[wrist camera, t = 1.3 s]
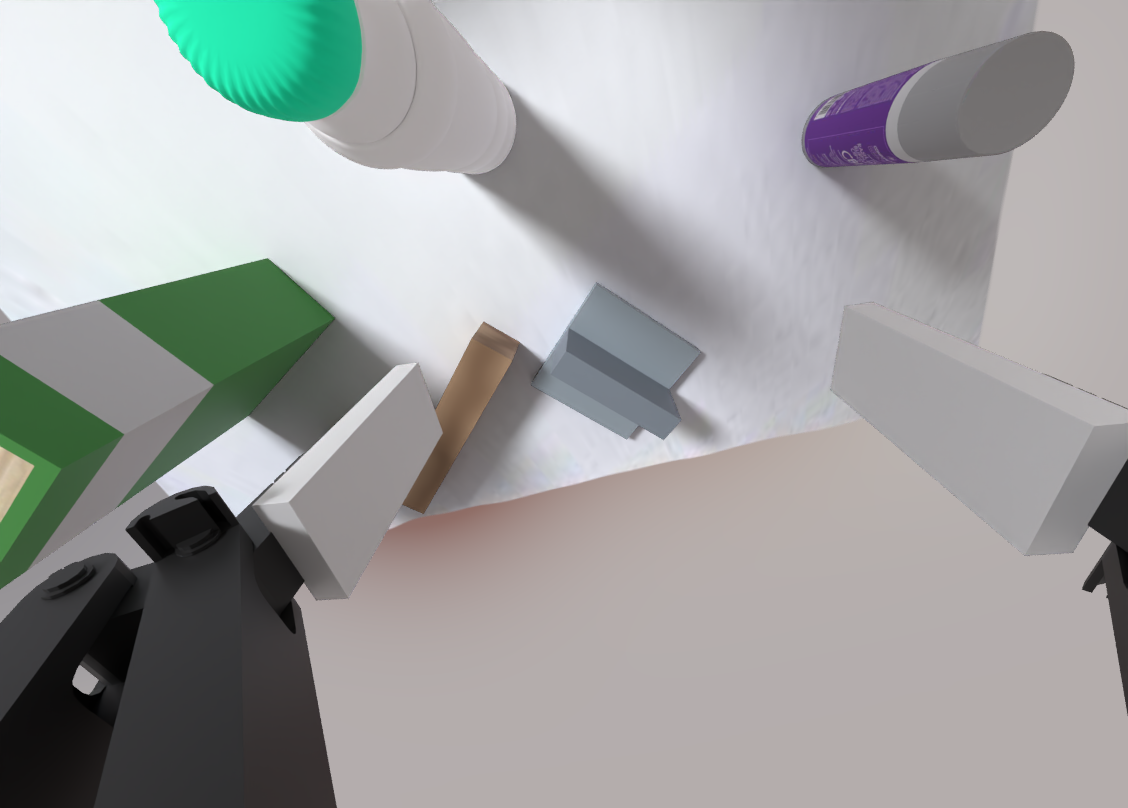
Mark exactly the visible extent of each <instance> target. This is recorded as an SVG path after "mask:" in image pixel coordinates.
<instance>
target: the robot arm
mask: <svg viewBox="0 0 1128 808" xmlns="http://www.w3.org/2000/svg"><path fill="white" fill-rule="evenodd" d="M830 390H831V391H832V392H833V393H835V394H836V395H837V396H838V397H839V398H840V399H842V400H843V401H844V402H845V403H846V404H847V405H849V406H850V407H851V408H852V409H853V410H854V411H856V412H857V413H858V414H859V415H860V416H862V417H863V418H864V419H865V420H866V421H867V422H869V423H870V424H871V425H872V426H873V427H874V428H876V429H877V430H878V431H879V432H880V433H881V434H883V435H884V436H885V437H886V438H887V439H888V440H890V441H891V442H892V443H893V444H895V445H896V446H897V447H898V448H899V449H900V450H901V451H903V452H904V453H905V454H906V455H907V456H908V457H910V458H911V459H912V460H913V461H914V462H916V463H917V464H918V465H919V466H920V467H921V468H922V469H924V470H925V471H926V472H927V473H928V474H929V475H931V476H932V477H933V478H934V479H935V480H937V481H938V482H939V483H940V484H941V485H942V486H943V487H945V488H946V489H947V490H948V491H949V492H951V493H952V494H953V495H954V496H955V497H956V498H958V499H959V500H960V501H961V502H962V503H963V504H965V505H966V506H967V507H968V508H969V509H970V510H972V511H973V512H974V513H975V514H976V515H978V516H979V517H980V518H981V519H982V520H983V521H985V522H986V523H987V524H988V525H989V526H990V527H991V528H993V529H994V530H995V531H996V532H997V533H999V534H1000V535H1001V536H1002V537H1003V538H1004V539H1006V540H1007V541H1008V542H1009V543H1010V544H1011V545H1013V546H1014V547H1015V548H1016V549H1017V550H1018V551H1020V552H1021V553H1022V554H1023V555H1024V556H1030V555H1046V554H1061V553H1073V552H1074V550H1075V549H1076V547H1077V545H1078V543H1079V542H1080V540H1081V539H1082V537H1083V536H1084V534H1085V532H1086V531H1087V529H1088V527H1089V526H1090V527H1092V528H1093V529H1094V530H1096V531H1097V532H1099V533H1100V534H1101V535H1103V536H1104V537H1106V538H1107V539H1109V540H1111V541H1112V542H1111V543H1110V545H1109V546H1108V548H1107V549H1106V551H1105V552H1104V554H1103V555H1102V557H1101V558H1100V560H1099V561H1098V563H1097V564H1096V566H1095V567H1094V569H1093V570H1092V572H1091V573H1090V575H1089V576H1088V578H1087V579H1086V581H1085V582H1084V585H1083V589H1082V590H1085V591H1088V592H1091V593H1092V592H1093V590H1094V589H1095V587H1096V586H1097V585H1099V584H1104V583H1106V588H1107V594H1108V595H1107V597H1106V598H1108V600H1109V605H1110V612H1111V618H1112V624H1113V630H1114V636H1115V641H1116V648H1117V654H1118V660H1119V665H1120V672H1121V678H1122V683H1123V690H1124V696H1125V702H1126V708H1127V713H1128V409H1127V408H1125V407H1123V406H1120V405H1118V404H1115V403H1113V402H1111V401H1108V400H1106V399H1104V398H1099V397H1097V396H1096V395H1094V394H1092V393H1089V392H1087V391H1084V390H1082V389H1080V388H1076V387H1073V386H1072V385H1070V384H1068V383H1065V382H1063V381H1061V380H1058V379H1056V378H1054V377H1051V376H1048V375H1046V374H1043V373H1040V372H1038V371H1035V370H1033V369H1031V368H1028V367H1026V366H1023V365H1021V364H1019V363H1016V362H1014V361H1012V360H1009V359H1007V358H1004V357H1002V356H1000V355H997V354H995V353H993V352H990V351H988V350H985V349H983V348H981V347H978V346H976V345H974V344H971V343H969V342H966V341H964V340H962V339H959V338H957V337H955V336H952V335H950V334H947V333H945V332H943V331H940V330H938V329H936V328H933V327H931V326H928V325H926V324H924V323H921V322H919V321H917V320H914V319H912V318H909V317H907V316H905V315H902V314H900V313H898V312H895V311H893V310H890V309H888V308H886V307H883V306H881V305H879V304H876V303H874V302H870V303H863V304H855V305H848V306H845V307H844V313H843V319H842V325H841V330H840V336H839V342H838V348H837V354H836V360H835V366H834V371H833V377H832V383H831V389H830ZM442 433H443V432H442V429H441V426H440V423H439V420H438V417H437V415H436V412H435V409H434V406H433V403H432V400H431V397H430V395H429V392H428V389H427V386H426V383H425V380H424V378H423V375H422V372H421V369H420V366H419V363H410V364H403V365H396V366H395V367H394V368H393V369H392V370H391V371H390V372H389V373H388V374H387V375H386V376H385V377H384V378H383V379H382V380H381V381H380V382H379V383H378V384H377V385H375V386H374V387H373V388H372V389H371V390H370V391H369V392H368V393H367V394H366V395H365V396H364V397H363V398H362V399H361V400H360V401H359V402H358V403H357V404H356V405H355V406H354V407H353V408H352V409H351V410H350V411H349V412H348V413H347V414H346V415H345V416H344V417H342V418H341V419H340V420H339V421H338V422H337V423H336V424H335V425H334V426H333V427H332V428H331V429H330V430H329V431H328V432H327V433H326V434H325V435H324V436H323V437H322V438H321V439H320V440H319V441H318V442H317V443H316V444H315V445H314V446H313V447H312V448H311V449H309V450H308V451H307V452H306V453H304V454H303V455H301V456H299V457H298V458H297V459H296V460H295V461H294V462H293V463H292V464H291V465H290V466H289V467H288V468H287V469H286V472H283V473H282V474H281V475H280V476H279V477H277V478H276V479H275V480H274V483H272V484H270V485H269V486H268V487H267V488H266V489H265V490H264V491H263V492H262V493H261V494H260V495H259V496H258V497H257V498H256V499H255V500H254V501H252V502H251V503H250V504H249V505H248V506H247V507H246V508H245V509H244V510H243V511H242V512H241V513H240V514H239V515H238V516H237V517H235V516H234V515H233V513H232V512H231V510H230V509H229V508H228V506H227V505H226V503H225V502H224V501H223V499H222V498H221V496H220V495H219V494H218V492H217V491H216V490H215V488H214V487H210V486H201V487H195V488H191V489H188V490H185V491H182V492H179V493H176V494H174V495H172V496H170V497H168V498H166V499H163V500H161V501H159V502H158V503H156V504H154V505H153V506H151V507H149V508H148V509H146V510H145V511H143V512H142V513H141V514H140V515H138V516H137V517H136V518H135V519H134V520H132V521H131V522H130V524H129V525H128V527H127V528H126V531H127V532H128V533H129V535H130V536H131V537H132V538H133V539H134V540H135V541H136V542H137V543H138V545H139V546H140V547H141V548H142V549H143V550H144V551H145V552H146V553H147V555H148V556H149V557H150V558H151V559H152V560H153V561H154V563H151V564H147V565H144V566H141V567H138V568H134V569H131V570H130V569H129V568H128V567H127V565H125V564H124V562H123V561H122V560H121V559H120V558H119V557H118V556H117V555H116V554H113V553H104V554H100V555H97V556H92V557H89V558H87V559H84V560H82V561H80V562H74V563H72V564H70V565H68V566H66V567H64V569H60V570H58V571H57V572H55V573H53V574H52V575H50V576H49V578H48V579H47V580H45V581H44V582H42V583H41V584H40V585H38V586H36V587H35V588H34V589H33V590H32V591H31V592H30V593H29V594H28V595H26V596H25V597H24V598H23V599H22V600H21V601H20V602H19V603H18V604H17V606H16V607H15V608H14V609H13V610H12V611H11V612H10V613H9V614H8V615H7V616H6V618H5V619H4V620H3V621H2V622H1V623H0V808H337V806H336V801H335V795H334V790H333V784H332V779H331V773H330V768H329V762H328V757H327V751H326V746H325V740H324V735H323V729H322V724H321V718H320V713H319V707H318V701H317V696H316V690H315V685H314V680H313V674H312V668H311V663H310V658H309V652H308V646H307V641H306V635H305V629H304V624H303V618H302V613H301V608H300V607H299V605H298V604H297V602H296V601H295V599H294V598H293V597H294V595H295V594H296V592H297V591H298V589H299V588H300V587H301V585H302V584H303V583H305V585H306V586H307V588H308V589H309V590H310V592H311V593H312V595H313V596H314V598H315V599H316V600H331V599H346V598H349V596H350V595H351V593H352V591H353V590H354V588H355V586H356V584H357V583H358V581H359V579H360V577H361V576H362V574H363V572H364V570H365V569H366V567H367V565H368V563H369V562H370V560H371V558H372V556H373V555H374V553H375V551H376V549H377V548H378V546H379V544H380V542H381V541H382V539H383V537H384V535H385V534H386V532H387V530H388V528H389V527H390V525H391V523H392V521H393V520H394V518H395V516H396V514H397V512H398V511H399V509H400V507H401V505H402V504H403V502H404V500H405V498H406V497H407V495H408V493H409V491H410V490H411V488H412V486H413V484H414V483H415V481H416V479H417V477H418V476H419V474H420V472H421V470H422V469H423V467H424V465H425V463H426V462H427V460H428V458H429V456H430V455H431V453H432V451H433V449H434V448H435V446H436V444H437V442H438V440H439V439H440V437H441V435H442ZM79 665H81V666H82V667H84V668H85V669H86V670H87V671H88V672H90V673H91V674H92V675H93V676H95V677H96V678H97V679H99V681H98V683H97V684H96V686H95V688H94V689H93V691H92V692H91V693H90V694H89V695H87V694H84V693H82V692H81V691H79V690H78V689H77V688H75V687H74V686H73V684H72V680H73V678H74V675H75V672H76V670H77V668H78V666H79Z"/></svg>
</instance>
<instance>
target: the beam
mask: <svg viewBox="0 0 1128 808" xmlns="http://www.w3.org/2000/svg"><path fill="white" fill-rule="evenodd" d="M519 343H520V342H519V341H517V340H515V339H513V338H511V337H510V336H508V335H506V334H504V333H503V332H501V331H499V330H497V329H496V328H494V327H492V326H490V325H489V324H487V323H485V322H483V323H482V325H481V326H480V328H479V329H478V330H477V332H476V333H475V335H474V336H473V337H472V339H471V341H470V343H469V345H468V347H467V349H466V351H465V353H464V355H463V357H462V359H461V361H460V363H459V364H458V366H457V368H456V370H455V372H454V374H453V376H452V378H451V380H450V382H449V384H448V386H447V388H446V390H445V392H444V394H443V396H442V398H441V400H440V402H439V404H438V406H437V408H436V410H435V412H436V415H437V417H438V420H439V423H440V426H441V429H442V432H443V433H442V435H441V437H440V439H439V440H438V442H437V444H436V446H435V448H434V449H433V451H432V453H431V455H430V456H429V458H428V460H427V462H426V463H425V465H424V467H423V469H422V470H421V472H420V474H419V476H418V477H417V479H416V481H415V483H414V484H413V486H412V488H411V490H410V491H409V493H408V495H407V497H406V498H405V500H404V502H403V504H402V505H404V506H407V507H409V508H411V509H413V510H416V511H418V512H420V513H422V514H424V512H425V511H426V509H427V507H428V505H429V504H430V502H431V500H432V498H433V497H434V495H435V493H436V492H437V490H438V488H439V486H440V485H441V483H442V481H443V480H444V478H445V476H446V474H447V473H448V471H449V469H450V467H451V466H452V464H453V462H454V461H455V459H456V457H457V455H458V454H459V452H460V450H461V448H462V447H463V445H464V443H465V442H466V440H467V438H468V436H469V435H470V433H471V431H472V429H473V428H474V426H475V424H476V423H477V421H478V419H479V417H480V416H481V414H482V412H483V410H484V409H485V407H486V405H487V404H488V402H489V400H490V398H491V397H492V395H493V393H494V391H495V390H496V388H497V386H498V385H499V383H500V381H501V379H502V378H503V376H504V374H505V373H506V371H507V369H508V367H509V366H510V364H511V362H512V360H513V358H514V355H515V353H516V350H517V348H518V345H519Z"/></svg>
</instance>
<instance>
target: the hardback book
mask: <svg viewBox="0 0 1128 808" xmlns="http://www.w3.org/2000/svg"><path fill="white" fill-rule="evenodd" d="M334 319H335V318H334V317H333V316H332V315H331V314H330V313H329V312H328V311H327V310H325V309H324V308H323V307H322V306H321V305H320V304H319V303H318V302H316V301H315V300H314V299H313V298H312V297H311V296H310V295H308V294H307V293H306V292H305V291H304V290H303V289H302V288H301V287H299V286H298V285H297V284H296V283H295V282H294V281H293V280H292V279H290V278H289V277H288V276H287V275H286V274H285V273H284V272H282V271H281V270H280V269H279V268H278V267H277V266H276V265H275V264H273V263H272V262H271V261H270V260H269V259H268V258H267V259H263V260H259V261H255V262H251V263H247V264H243V265H239V266H235V267H231V268H227V269H223V270H219V271H214V272H210V273H206V274H202V275H198V276H194V277H190V278H186V279H182V280H178V281H174V282H170V283H166V284H162V285H158V286H154V287H150V288H145V289H141V290H137V291H133V292H129V293H125V294H121V295H117V296H113V297H109V298H105V299H101V300H97V301H93V302H89V303H85V304H81V305H77V306H72V307H68V308H64V309H60V310H56V311H52V312H48V313H44V314H40V315H36V316H32V317H28V318H24V319H20V320H16V321H12V322H8V323H4V324H0V589H1V588H3V587H4V586H6V585H7V584H8V583H10V582H11V581H13V580H14V579H16V578H17V577H19V576H20V575H21V574H23V573H24V572H26V571H27V570H29V569H30V568H31V567H33V566H34V565H35V564H37V563H39V562H40V561H41V560H43V559H44V558H46V557H47V556H49V555H50V554H51V553H53V552H54V551H56V550H57V549H58V548H60V547H61V546H63V545H64V544H66V543H67V542H69V541H70V540H71V539H73V538H74V537H75V536H77V535H79V534H80V533H81V532H83V531H84V530H86V529H87V528H89V527H90V526H91V525H93V524H94V523H96V522H97V521H99V520H100V519H101V518H103V517H104V516H106V515H107V514H109V513H110V512H112V511H113V510H114V509H116V508H117V507H119V506H120V505H121V504H123V503H124V502H126V501H127V500H129V499H130V498H132V497H133V496H134V495H136V494H137V493H139V492H140V491H141V490H143V489H144V488H146V487H147V486H149V485H150V484H152V483H153V482H154V481H156V480H157V479H159V478H160V477H162V476H163V475H164V474H166V473H167V472H169V471H170V470H172V469H173V468H174V467H176V466H177V465H179V464H180V463H182V462H183V461H184V460H186V459H187V458H189V457H190V456H192V455H193V454H194V453H196V452H197V451H199V450H200V449H202V448H203V447H204V446H206V445H207V444H209V443H210V442H212V441H213V440H214V439H216V438H217V437H219V436H220V435H222V434H223V433H224V432H226V431H227V430H229V429H230V428H232V427H233V426H234V425H236V424H237V423H239V422H240V421H242V420H243V419H244V418H246V417H247V416H249V415H250V413H251V412H252V411H253V410H254V409H255V408H256V407H257V406H258V404H259V403H260V402H261V401H262V400H263V399H264V398H265V397H266V395H267V394H268V393H269V392H270V391H271V390H272V389H273V388H274V386H275V385H276V384H277V383H278V382H279V381H280V380H281V378H282V377H283V376H284V375H285V374H286V373H287V372H288V371H289V369H290V368H291V367H292V366H293V365H294V364H295V363H296V362H297V360H298V359H299V358H300V357H301V356H302V355H303V354H304V353H305V351H306V350H307V349H308V348H309V347H310V346H311V345H312V344H313V342H314V341H315V340H316V339H317V338H318V337H319V336H320V335H321V333H322V332H323V331H324V330H325V329H326V328H327V327H328V326H329V324H330V323H331V322H332V321H333V320H334Z"/></svg>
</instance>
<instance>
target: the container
mask: <svg viewBox="0 0 1128 808" xmlns="http://www.w3.org/2000/svg"><path fill="white" fill-rule="evenodd" d="M1073 74H1074V56H1073V52H1072V49H1071V47H1070V45H1069V44H1068V43H1067V41H1066V40H1065V39H1064V38H1063V37H1061V36H1060V35H1058V34H1055V33H1052V32H1046V31H1039V32H1032V33H1028V34H1024V35H1021V36H1018V37H1014V38H1011V39H1008V40H1004V41H1001V42H998V43H994V44H991V45H988V46H984V47H981V48H978V49H974V50H971V51H968V52H964V53H961V54H958V55H955V56H951V57H948V58H944V59H940V60H937V61H934V62H931V63H928V64H925V65H923V66H920V67H917V68H914V69H911V70H908V71H905V72H902V73H899V74H896V75H893V76H890V77H887V78H885V79H882V80H879V81H876V82H873V83H870V84H867V85H864V86H861V87H858V88H855V89H852V90H849V91H847V92H844V93H841V94H838V95H835V96H833V97H830V98H828V99H827V100H825V101H824V102H822V103H821V104H820V105H819V106H818V107H817V108H816V109H815V110H814V111H813V112H812V114H811V115H810V117H809V118H808V120H807V122H806V124H805V127H804V130H803V134H802V149H803V152H804V155H805V156H806V158H807V159H808V160H809V161H810V162H811V163H812V164H814V165H816V166H819V167H839V166H858V165H878V164H897V163H916V162H926V161H936V160H947V159H958V158H968V157H979V156H989V155H998V154H1002V153H1005V152H1008V151H1011V150H1013V149H1015V148H1017V147H1019V146H1021V145H1023V144H1024V143H1026V142H1027V141H1029V140H1030V139H1031V138H1033V137H1034V136H1035V135H1037V134H1038V133H1039V132H1040V131H1041V130H1042V129H1043V128H1044V127H1045V126H1046V125H1047V124H1048V123H1049V122H1050V120H1051V119H1052V118H1053V117H1054V116H1055V114H1056V113H1057V111H1058V110H1059V108H1060V107H1061V105H1062V104H1063V102H1064V100H1065V98H1066V96H1067V94H1068V91H1069V89H1070V86H1071V83H1072V79H1073Z"/></svg>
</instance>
